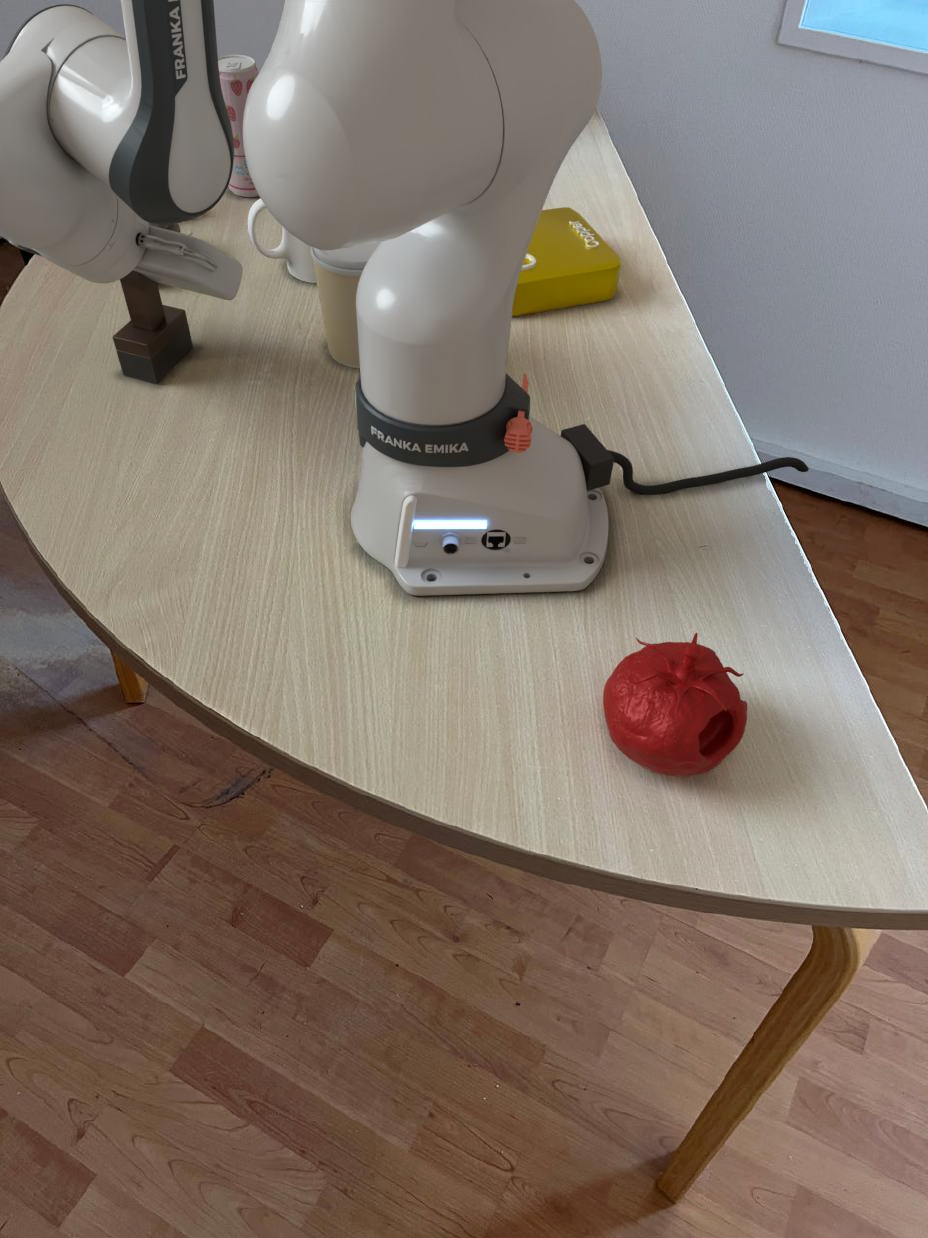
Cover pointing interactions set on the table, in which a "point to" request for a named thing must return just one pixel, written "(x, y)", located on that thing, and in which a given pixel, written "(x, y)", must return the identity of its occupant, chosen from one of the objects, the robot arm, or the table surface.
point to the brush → (150, 332)
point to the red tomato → (674, 708)
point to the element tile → (565, 265)
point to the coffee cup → (341, 297)
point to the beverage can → (238, 114)
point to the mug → (285, 249)
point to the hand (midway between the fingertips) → (180, 278)
